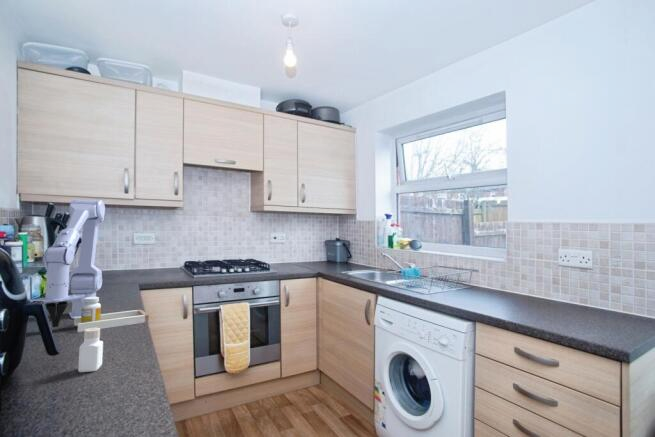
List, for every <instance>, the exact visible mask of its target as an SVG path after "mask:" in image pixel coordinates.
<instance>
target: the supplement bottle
mask: <svg viewBox="0 0 655 437" xmlns="http://www.w3.org/2000/svg"><path fill="white" fill-rule="evenodd" d="M101 310H102V305H101V303H100V297H99V296H96V297H87V298H85V304H84V305H83V306H82V314H81V323H85V322H93V321H100V315H101V314H102V313H101V312H102V311H101Z"/></svg>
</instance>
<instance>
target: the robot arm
mask: <svg viewBox="0 0 655 437" xmlns="http://www.w3.org/2000/svg"><path fill="white" fill-rule="evenodd" d="M69 212H70V218H69V220H68V222H67V226H66V228H64V229H61V230H60V231H59V233H58V235H57V237H56V239H55V240H54V243H53V244H52V246H50V247H48V248H46V249H45V251H44V254H43V256H42V257H43V263H44V269H45V270H46V281H45V283H46V285H45V297H38V298H30V299H29V301H30V302H33V301H43V302H44V303H45V305H44V306H45V308H46V310H47V311H48V314H49V316H50V319H51V324H52V325H51V327H52V328H58V327H59V324H60V321H61V318H62V316H63V314H64V312H65V310H66V309H67V307H68V303H72V306H71V312H68V314H69V317H70V318H71V319H72V320H73V319H75V317H81V314H82V306H83V305H84V304H85V298H87V297H97V291H99V290H100V289H101V288H102V286H103V272H102V270H101V269H100V268H98V267H97V266H95V263H96V261H95V260H96V254H97V252H96V251H97V243H98V234H99V226H100V224H101V223H103V222H104V219H105V213H106V206H105V203H104V200H102V199H97V200H95V199H78V198H73V199H72V200H71V202H70V204H69ZM81 229H82V235H80V233H79V232H80V230H81ZM80 237H81V241H80V242H81V244H80V252H79V260H78V265H77V266H76V267H75V268H73V269H72V270H71V271H70V267H71V264H72V263H73V261H74V259H75V253H76V249H75V248H76V246H77V244H78V242H79V240H80ZM69 291H70V293H71V294H70V295H69Z"/></svg>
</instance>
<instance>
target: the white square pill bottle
mask: <svg viewBox="0 0 655 437" xmlns="http://www.w3.org/2000/svg"><path fill="white" fill-rule="evenodd" d="M83 334H84V335H83V339H84V340H83V342H82V343H81V345H80V346H79V349H78V350H79V352H78V369H77V370H78V372H79V373H88V372H89V373H90V372H96V371H98V370H99V369H100V368H101V367H102V364H103V355H104V354H103V353H104V341H102V340H100V337H101V329H100V328H89V329H86V330H85V331H83Z"/></svg>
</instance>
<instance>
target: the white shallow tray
mask: <svg viewBox="0 0 655 437" xmlns="http://www.w3.org/2000/svg"><path fill="white" fill-rule="evenodd" d="M149 316H150V315H149V314H148V313H147V312H145V311H144V310H143V309H136V310H135V309H134V310H126V311H117V312H109V313H101V315H100V321H93V322H85V323H81V317H75V318H74V320H73V321H74V322H73V324H74V327H75V326H76V327H77V329H76V330H77V333H82V332H83V333H84V331H85V330H86V329H89V328H100V330H102V329H109V328H116V327H123V326H130V325H135V324H143V323H149V318H150V317H149Z"/></svg>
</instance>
